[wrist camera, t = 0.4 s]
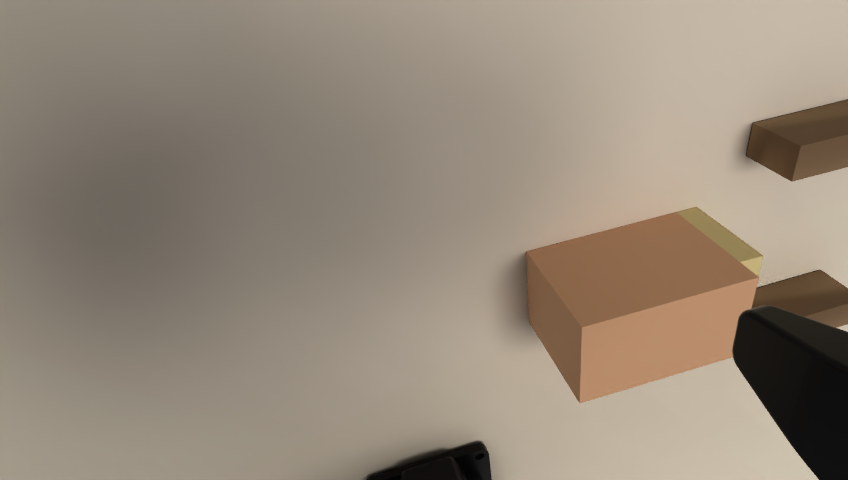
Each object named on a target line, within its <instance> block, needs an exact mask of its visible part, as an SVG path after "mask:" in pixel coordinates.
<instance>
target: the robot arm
mask: <svg viewBox="0 0 848 480" xmlns="http://www.w3.org/2000/svg"><path fill="white" fill-rule="evenodd" d="M732 354H733V358H734V361H735V363H736V365H737V367H738V368H739V370H740V371H741V373H742V374H743V376H744V377H745V379H746V380H747V381H748V383H749V384H750V386H751V387H752V389H753V390H754V392H755V393H756V395H757V396H758V397H759V399H760V400H761V402H762V403H763V405H764V406H765V408H766V409H767V411H768V412H769V414H770V415H771V416H772V418H773V419H774V421H775V422H776V424H777V425H778V427H779V428H780V430H781V431H782V432H783V434H784V435H785V437H786V438H787V440H788V441H789V442H790V444H791V445H792V446H793V448H794V449H795V451H796V452H797V453H798V454H799V456H800V457H801V458H802V459H803V461H804V462H805V463H806V464H807V466H808V467H809V468H810V469H811V470H812V472H813V473H814V474H815V475H816V476H817V478H818V479H819V480H848V332H846V331H843V330H840V329H838V328H835V327H832V326H829V325H826V324H823V323H821V322H818V321H815V320H812V319H809V318H806V317H803V316H801V315H798V314H795V313H792V312H789V311H786V310H784V309H781V308H778V307H775V306H772V305H762V306H759V307H755V308H752V309H748V310H745V311H743V312H742V313H741V314H740V316H739V318H738V323H737V328H736V333H735V338H734V342H733V347H732ZM367 480H492V479H491V470H490V461H489V453H488V451H487V448H486V446H485V445H484V444H476V445H472V446H469V447H466V448H463V449H459V450H456V451H453V452H450V453H446V454H443V455H440V456H436V457H433V458H430V459H427V460H423V461H420V462H417V463H414V464H410V465H407V466H404V467H400V468H397V469H394V470H391V471H387V472H384V473H381V474H378V475H374V476H372V477H370V478H369V479H367Z"/></svg>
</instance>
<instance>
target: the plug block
mask: <svg viewBox="0 0 848 480" xmlns="http://www.w3.org/2000/svg"><path fill="white" fill-rule="evenodd" d="M526 257H527V283H528V309H529V323H530V324H531V326H532V327H533V329H534V331H535V332H536V334H537V335H538V337H539V339H540V340H541V342H542V343H543V345H544V347H545V348H546V350H547V352H548V353H549V355H550V356H551V358H552V360H553V361H554V363H555V364H556V366H557V368H558V369H559V371H560V372H561V374H562V376H563V377H564V379H565V381H566V382H567V384H568V385H569V387H570V389H571V390H572V392H573V393H574V395H575V397H576V398H577V400H578V401H579V403H582V402H586V401H589V400H592V399H596V398H599V397H602V396H606V395H609V394H612V393H615V392H619V391H622V390H625V389H629V388H632V387H635V386H639V385H642V384H645V383H648V382H652V381H655V380H658V379H662V378H665V377H668V376H672V375H675V374H678V373H681V372H685V371H688V370H691V369H695V368H698V367H701V366H705V365H708V364H711V363H714V362H718V361H721V360H724V359H728V358H731V357H733V354H732V347H733V342H734V338H735V333H736V328H737V323H738V318H739V316H740V314H741V313H742V312H743V311H745V310H748V309H751V308H752V304H753V300H754V296H755V292H756V288H757V284H758V280H759V277H758V275H759V271H760V267H761V263H762V259H763V255H762V254H760V253H759V252H758V251H756V250H755V249H753V248H752V247H751V246H749V245H748V244H747V243H745V242H744V241H743V240H741V239H740V238H739V237H737V236H736V235H734V234H733V233H732V232H730V231H729V230H728V229H726V228H725V227H724V226H722V225H721V224H720V223H718V222H717V221H715V220H714V219H713V218H711V217H710V216H709V215H707V214H706V213H705V212H703V211H702V210H701V209H699V208H698V207H694V208H690V209H686V210H682V211H679V212H675V213H671V214H667V215H663V216H659V217H656V218H652V219H648V220H644V221H640V222H637V223H633V224H629V225H625V226H621V227H618V228H614V229H610V230H606V231H602V232H598V233H595V234H591V235H587V236H583V237H579V238H576V239H572V240H568V241H564V242H560V243H556V244H553V245H549V246H545V247H541V248H537V249H534V250H530V251H526Z"/></svg>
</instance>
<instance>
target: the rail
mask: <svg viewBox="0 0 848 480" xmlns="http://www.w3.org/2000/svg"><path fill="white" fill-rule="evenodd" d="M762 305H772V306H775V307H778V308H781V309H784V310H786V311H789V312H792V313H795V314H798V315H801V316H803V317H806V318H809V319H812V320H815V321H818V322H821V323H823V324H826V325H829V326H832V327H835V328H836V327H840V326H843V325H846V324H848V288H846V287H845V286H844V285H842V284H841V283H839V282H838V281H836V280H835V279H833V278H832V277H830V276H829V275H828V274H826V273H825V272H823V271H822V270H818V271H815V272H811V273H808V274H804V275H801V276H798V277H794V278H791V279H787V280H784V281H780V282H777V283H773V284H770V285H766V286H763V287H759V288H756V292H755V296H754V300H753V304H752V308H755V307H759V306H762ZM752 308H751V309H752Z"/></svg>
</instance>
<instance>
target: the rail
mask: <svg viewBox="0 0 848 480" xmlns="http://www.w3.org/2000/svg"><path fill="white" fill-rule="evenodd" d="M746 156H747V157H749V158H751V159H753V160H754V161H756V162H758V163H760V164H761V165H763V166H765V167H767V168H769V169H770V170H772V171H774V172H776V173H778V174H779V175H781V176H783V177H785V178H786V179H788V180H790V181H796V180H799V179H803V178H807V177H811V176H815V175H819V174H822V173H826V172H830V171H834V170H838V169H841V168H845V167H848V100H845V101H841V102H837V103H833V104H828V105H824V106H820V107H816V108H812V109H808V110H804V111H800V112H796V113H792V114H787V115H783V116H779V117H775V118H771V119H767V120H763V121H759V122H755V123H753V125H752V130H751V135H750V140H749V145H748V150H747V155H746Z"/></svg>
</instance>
